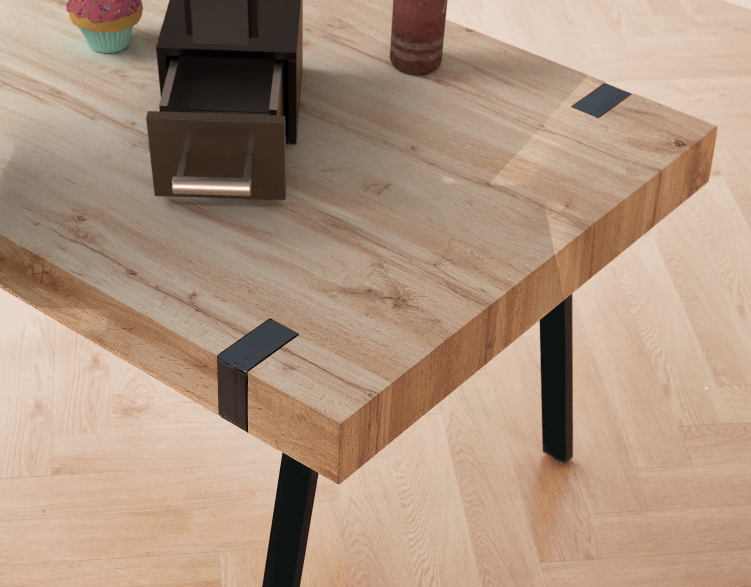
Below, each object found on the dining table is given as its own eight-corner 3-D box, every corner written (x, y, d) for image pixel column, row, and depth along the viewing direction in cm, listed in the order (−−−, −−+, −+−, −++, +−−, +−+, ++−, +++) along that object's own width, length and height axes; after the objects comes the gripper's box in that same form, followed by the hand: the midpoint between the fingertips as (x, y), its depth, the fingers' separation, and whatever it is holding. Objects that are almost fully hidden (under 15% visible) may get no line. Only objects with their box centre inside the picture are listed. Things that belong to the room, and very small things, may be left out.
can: (403, 44, 130) (411, -68, 121) (449, 60, 128) (461, -53, 119) (378, 65, 126) (384, -49, 117) (425, 81, 124) (435, -34, 115)
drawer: (282, 236, 100) (281, 157, 94) (145, 232, 100) (136, 152, 94) (292, 118, 115) (292, 44, 109) (174, 114, 115) (167, 39, 109)
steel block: (193, 44, 97) (188, -19, 93) (199, 17, 100) (195, -44, 96) (249, 46, 97) (247, -16, 93) (253, 20, 100) (251, -41, 96)
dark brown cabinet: (296, 144, 113) (296, 52, 106) (164, 139, 113) (155, 47, 106) (302, 67, 125) (302, -20, 118) (183, 63, 125) (176, -25, 117)
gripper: (328, -254, 86) (323, 14, 101) (100, -265, 85) (131, 6, 101) (325, -225, 80) (321, 53, 96) (81, -237, 80) (117, 45, 95)
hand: (223, 28), depth 98 cm, fingers closed on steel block, 5 cm apart
